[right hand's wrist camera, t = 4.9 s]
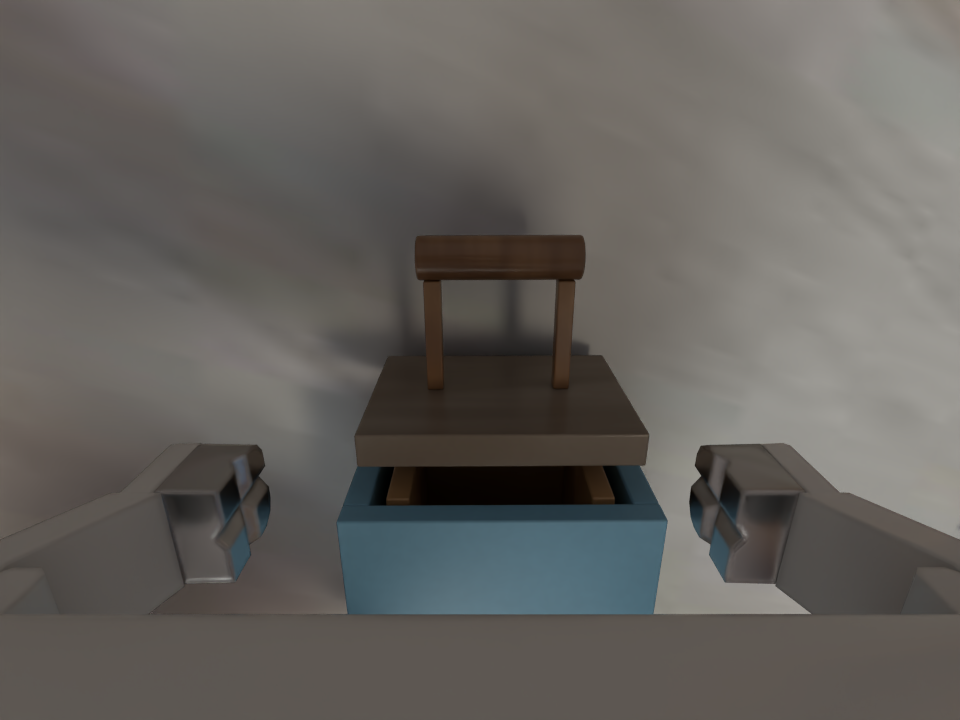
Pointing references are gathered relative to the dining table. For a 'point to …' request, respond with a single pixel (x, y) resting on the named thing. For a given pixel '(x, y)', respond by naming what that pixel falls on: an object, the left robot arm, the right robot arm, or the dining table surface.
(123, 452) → the dining table surface
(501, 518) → the blue drawer cabinet
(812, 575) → the right robot arm
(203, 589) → the dining table surface
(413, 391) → the drawer
